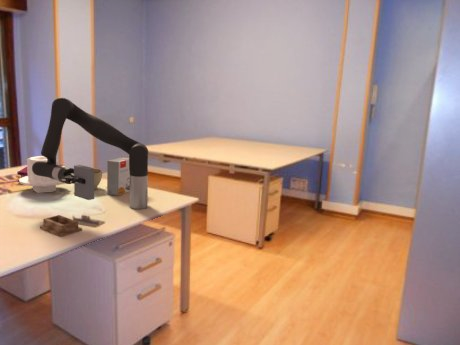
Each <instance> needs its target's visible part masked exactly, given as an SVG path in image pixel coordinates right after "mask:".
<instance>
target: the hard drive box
mask: <svg viewBox="0 0 460 345" xmlns="http://www.w3.org/2000/svg"><path fill="white" fill-rule="evenodd" d="M106 165H107V166H106V169H107V172H106V173H107V177H106V178H107V182H106V183H107V184H106V188H107V189H106V194H107V195H111V196H116V197H118V196H122V195H123V194H126V193H130V171H129V157H123V156H122V157H118V158H114V159H109V160H107V164H106Z"/></svg>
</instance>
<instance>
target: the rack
mask: <svg viewBox="0 0 460 345" xmlns="http://www.w3.org/2000/svg"><path fill="white" fill-rule="evenodd" d="M42 222H43V224H42V225H39V229H40V230H44V231H47V232H49V233H51V234H53V235H56V236H58V237H60V238H61V237H65V236H68V235H71V234H75V233H77V232H80V231H83V228H82V227H80V226H79V221H78V220H74V219H72V218H69V217H67V216H64V215H60V214H58V215H53V216H51V217H47V218H43V221H42Z"/></svg>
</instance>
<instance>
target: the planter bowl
mask: <svg viewBox="0 0 460 345" xmlns="http://www.w3.org/2000/svg"><path fill="white" fill-rule="evenodd" d="M103 172H104V171H103V169H100V168H94V190H97V189H98V186H99V185H100V183H101V181H102V179H103V178H102V177H103Z"/></svg>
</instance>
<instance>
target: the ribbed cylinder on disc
mask: <svg viewBox="0 0 460 345" xmlns="http://www.w3.org/2000/svg"><path fill="white" fill-rule="evenodd" d="M37 161H43V162H47V158H46V157H44V156H42V155H38V156H31V157H28V158H27V159H26V167H27V173H28V176H26V177H22V178H21V177H20V178H19V183H18V184H20V185H24V186H29V187H32V190H33V191H34V192H36V193H37V194H42V193H43V192H44V193H52V192H56V188H57V187H56V186H57V185H61V184H64V183H63V182H59V181H57V180H54V179H51V178H49V177H43V176H38V175H35V174H34V173H33V171H32V166H33V164H34V163H35V162H37ZM59 162H60V160H59V158H58V157H57V156H56V165H60V164H59Z"/></svg>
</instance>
